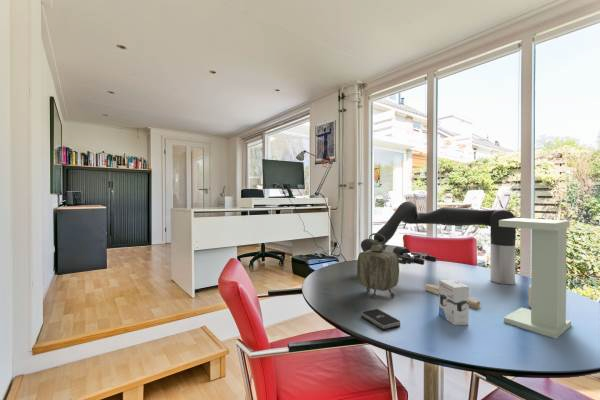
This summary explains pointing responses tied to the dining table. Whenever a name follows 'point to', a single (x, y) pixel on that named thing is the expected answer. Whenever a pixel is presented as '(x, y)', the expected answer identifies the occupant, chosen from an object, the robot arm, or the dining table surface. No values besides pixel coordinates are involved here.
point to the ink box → (454, 301)
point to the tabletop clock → (378, 268)
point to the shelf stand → (544, 277)
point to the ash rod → (435, 289)
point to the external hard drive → (380, 319)
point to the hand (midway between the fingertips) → (429, 260)
